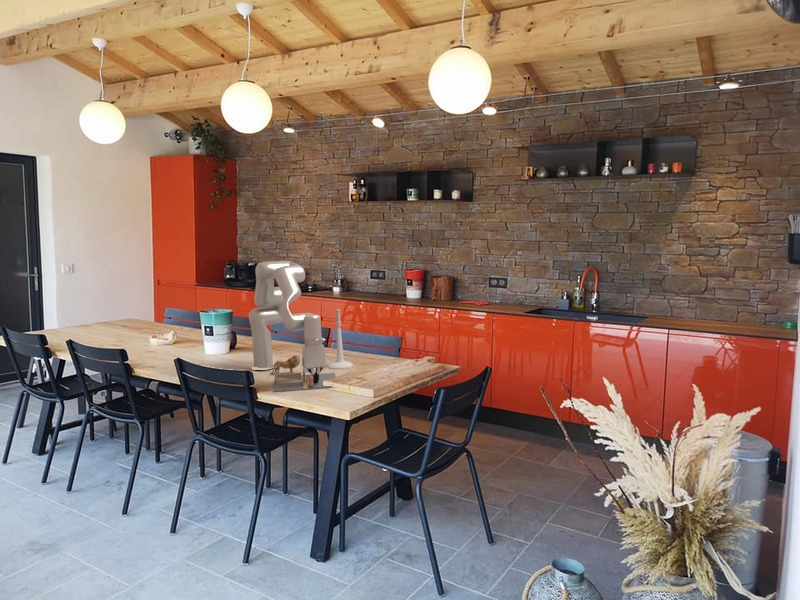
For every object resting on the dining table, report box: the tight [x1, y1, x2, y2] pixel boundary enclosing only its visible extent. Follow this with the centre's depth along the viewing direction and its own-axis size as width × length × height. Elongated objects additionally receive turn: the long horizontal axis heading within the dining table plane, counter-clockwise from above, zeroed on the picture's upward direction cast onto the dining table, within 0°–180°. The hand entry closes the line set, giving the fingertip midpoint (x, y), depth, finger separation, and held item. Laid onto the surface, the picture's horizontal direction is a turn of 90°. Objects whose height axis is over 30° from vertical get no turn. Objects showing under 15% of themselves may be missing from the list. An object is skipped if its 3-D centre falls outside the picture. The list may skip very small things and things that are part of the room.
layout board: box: [272, 372, 337, 393], centre depth 266 cm, size 26×28×1 cm
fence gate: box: [305, 372, 314, 387], centre depth 259 cm, size 12×2×4 cm, turn 21°
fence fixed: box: [273, 370, 308, 383], centre depth 265 cm, size 2×15×5 cm, turn 100°
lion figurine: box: [270, 354, 301, 374], centre depth 285 cm, size 15×5×9 cm, turn 96°
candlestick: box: [327, 308, 354, 370], centre depth 296 cm, size 13×13×30 cm
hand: (315, 382), depth 260 cm, fingers closed
